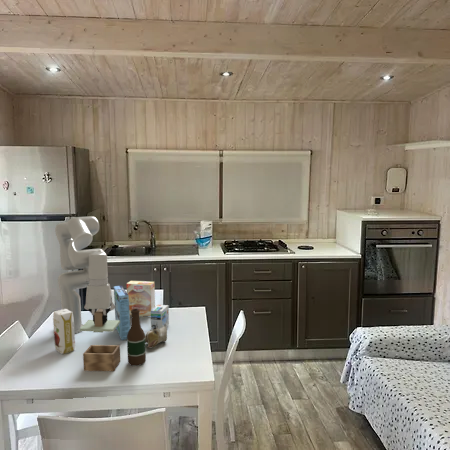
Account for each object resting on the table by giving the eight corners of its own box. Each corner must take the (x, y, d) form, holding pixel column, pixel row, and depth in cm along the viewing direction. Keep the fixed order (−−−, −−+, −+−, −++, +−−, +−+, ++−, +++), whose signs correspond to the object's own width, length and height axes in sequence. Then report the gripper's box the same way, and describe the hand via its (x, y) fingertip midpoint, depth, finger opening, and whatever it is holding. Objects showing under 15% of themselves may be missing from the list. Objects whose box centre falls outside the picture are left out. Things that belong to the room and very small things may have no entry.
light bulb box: (162, 330, 215) (162, 311, 214) (150, 330, 217) (150, 310, 215) (169, 323, 226) (168, 304, 224) (157, 322, 227) (157, 304, 226)
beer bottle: (137, 367, 174) (135, 313, 171) (124, 363, 178) (122, 310, 175) (149, 360, 181) (147, 308, 178) (136, 356, 185) (134, 305, 182)
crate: (83, 370, 172) (82, 353, 171) (91, 361, 181) (90, 345, 180) (114, 371, 171) (113, 354, 170) (120, 361, 180) (119, 345, 179)
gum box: (130, 338, 205) (129, 294, 202) (120, 340, 203) (118, 296, 200) (124, 325, 223) (122, 285, 220) (114, 327, 221) (113, 286, 218)
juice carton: (69, 345, 198) (67, 307, 195) (77, 350, 191) (74, 311, 189) (53, 350, 192) (51, 311, 190) (61, 355, 186) (58, 315, 184)
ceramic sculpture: (172, 325, 199) (146, 336, 188) (173, 342, 200) (148, 353, 190) (159, 320, 206) (134, 330, 196) (160, 336, 208) (135, 347, 197)
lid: (80, 333, 170) (79, 314, 169) (88, 324, 180) (88, 306, 178) (113, 334, 169) (112, 315, 168) (120, 325, 179) (119, 307, 178)
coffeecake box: (127, 315, 238) (125, 283, 236) (131, 311, 245) (130, 280, 243) (151, 317, 236) (150, 284, 233) (155, 313, 243) (154, 281, 240)
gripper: (76, 283, 168) (78, 326, 171) (115, 284, 167) (116, 326, 170) (83, 278, 175) (84, 319, 178) (120, 279, 175) (121, 320, 177)
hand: (100, 322), depth 174 cm, fingers closed on lid, 3 cm apart
